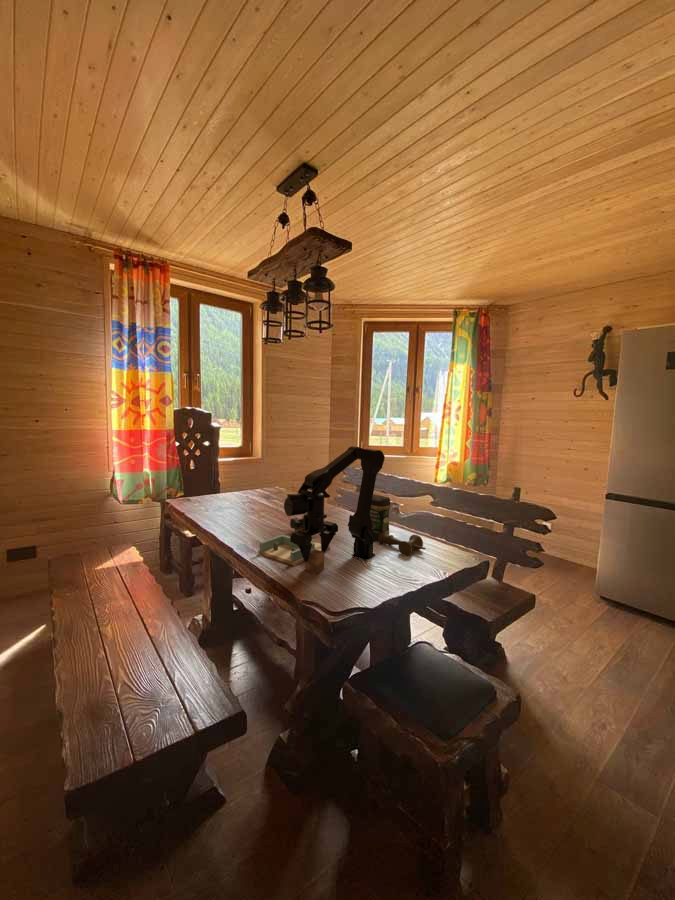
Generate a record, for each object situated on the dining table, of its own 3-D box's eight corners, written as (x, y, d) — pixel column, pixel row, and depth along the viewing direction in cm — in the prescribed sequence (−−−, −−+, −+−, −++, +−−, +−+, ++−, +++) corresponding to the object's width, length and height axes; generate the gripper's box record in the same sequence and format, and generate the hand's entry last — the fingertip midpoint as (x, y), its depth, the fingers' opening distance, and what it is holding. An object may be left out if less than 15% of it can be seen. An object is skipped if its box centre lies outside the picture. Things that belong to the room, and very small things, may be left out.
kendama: (387, 542, 154) (431, 552, 141) (373, 548, 147) (419, 560, 134) (387, 528, 154) (431, 537, 141) (373, 534, 147) (419, 544, 134)
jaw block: (324, 569, 125) (324, 551, 124) (316, 573, 121) (316, 555, 121) (312, 565, 128) (312, 548, 127) (304, 569, 124) (305, 551, 124)
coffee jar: (362, 538, 157) (363, 494, 155) (374, 534, 163) (375, 492, 161) (380, 543, 150) (382, 498, 148) (392, 539, 156) (393, 495, 154)
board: (329, 549, 143) (329, 539, 143) (294, 565, 127) (294, 555, 127) (294, 539, 153) (294, 530, 153) (258, 553, 137) (258, 543, 137)
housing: (314, 551, 137) (314, 543, 136) (293, 561, 127) (293, 552, 127) (282, 542, 146) (282, 534, 146) (259, 550, 137) (259, 542, 136)
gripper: (314, 502, 135) (313, 544, 136) (277, 513, 120) (277, 560, 121) (339, 507, 128) (338, 551, 130) (304, 519, 113) (303, 569, 115)
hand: (314, 557), depth 124 cm, fingers open, 9 cm apart
